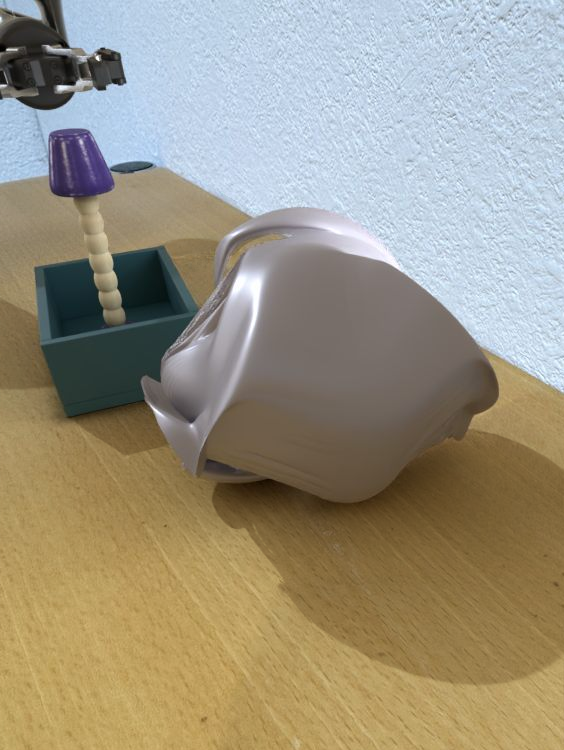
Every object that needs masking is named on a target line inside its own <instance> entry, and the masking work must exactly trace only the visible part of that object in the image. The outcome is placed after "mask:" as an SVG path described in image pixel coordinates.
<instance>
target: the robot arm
mask: <svg viewBox="0 0 564 750" xmlns="http://www.w3.org/2000/svg"><path fill="white" fill-rule="evenodd" d="M33 1H34V2H35V4H36V6H37V7H38V9H39V12H40V17H41V18H40V19H39V18H35V17H32V16H29V15H27V14H24V13H20V12H18V11H14V10H13V11H12V10H11V9H7V8H5V7H1V6H0V101H2V100H4V99H14V100H16V101H18V102H19V103H21V104H22V105H25V106H27V107H28V108H31V109H34V110H39V111H53V110H57V109H60V108H61V107H64V106H65V105H67V103H69V101H71V99H72V98H73V97H74V95H75V93H76V92H77V93H84V92H89V91H92V90H93V89H95V90H97V92H102V91H107V87H108V86H109V85H112V84H113V85H117V86H118V87H121V86H124V85H126V84H127V83H128V81H127V78H126V74H125V70H124V65H123V61H122V59H123V58H122V54H121V52H119V51H116V50H114V49H110V48H106V47H105V46H104V47H103V46H102V47H99V48H98V49H96V50H94V51H93V53H91V54H90V53H89V54H88V53H86V51H85V50H84V49H83V48H82V47H71V45H70V40H69V36H68V31H67V26H66V25H67V24H66V20H65V15H64V8H63V0H33Z"/></svg>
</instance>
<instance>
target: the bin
mask: <svg viewBox="0 0 564 750" xmlns="http://www.w3.org/2000/svg"><path fill="white" fill-rule="evenodd" d="M110 254H111V256H112V259H113V269H112V270H113V271H114V273H115V274H116V277H117V281H118V285H117V289H118V291H119V293H120V295H121V299H122V304H121V307H122V308H123V310H124V312H125V316H126V320H125V321H130V322H132V323H133V324H128V325H123V326H118V327H113V328H108V329H102V330H100V329H101V328H102V327H103V326H104V325H106V322H105V320H104V316H103V310H104V308H103V307H102V305H101V303H100V301H99V290H98V288H97V287H96V285H95V281H94V273H95V272H94V271H93V269H92V268H91V265H90V262H89V257H87V258H80V259H74V260H68V261H61V262H55V263H49V264H43V265H38V266H34V267H33V271H34V273H33V274H34V284H35V295H36V296H35V297H36V308H37V318H38V320H37V321H38V330H39V343H40V344H39V345H40V349H41V351H42V354H43V356H44V359H45V362H46V365H47V368H48V370H49V373H50V376H51V379H52V381H53V384H54V386H55V389H56V393H57V394H58V397H59V400H60V403H61V406H62V409H63V411H64V414H65V416H66V418H70V417H75V416H79V415H83V414H88V413H93V412H97V411H102V410H106V409H110V408H114V407H120V406H124V405H128V404H133V403H137V402H142V401H145V399H144V397H145V395H144V392H143V389H142V385H141V380H142V378H143V376H146V375H147V376H148V377H149V378H151V379H154V380H156V381H158V382H159V383H161V374H160V371H161V364H162V363H161V360H162V358H163V356H164V355H165V353H166V352H167V350H168V349H169V348H170V347H171V346H173V344H174V343H175V342H176V340H177V339H178V337H180V336H181V334H182V333H183V332H184V330H185V329H186V328H187V326H188V325H189V324H190V322H191V321H192V320H193V318H194V317H195V316H196V314H197V313H198V312H199V310H200V308H199V306H198V305H197V303H196V301H195V299H194V297H193V296H192V294H191V292H190V290H189V288H188V286H187V285H186V283H185V281H184V279H183V277H182V276H181V274H180V272H179V269H178V268H177V267H176V265H175V263H174V261H173V259H172V257H171V256H170V254H169V251H168V250H167V248H166V246H165V245H159V246H152V247H148V248H141V249H134V250H128V251H122V252H116V253H110ZM145 398H146V397H145Z"/></svg>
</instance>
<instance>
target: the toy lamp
mask: <svg viewBox="0 0 564 750" xmlns="http://www.w3.org/2000/svg"><path fill="white" fill-rule="evenodd" d="M47 140H48V143H47V144H48V146H47V148H48V149H47V150H48V151H47V152H48V181H49V190H50V192H51V193H52V195H55V196H57V197H61V198H73V200H72V201H73V205H74V206H75V209H76V210H77V211H78V223H79V226H80V228H81V230H82V231H83V233H84V235H83V241H84V245H85V246H84V247H85V248H86V250H87V251H88V252H89V254H88V258H89V262H90V265H91V268H92V269H93V271H94V272H95V273H94V281H95V285H96V287H97V288H98V290H99V301H100V303H101V305H102V307H103V308H104V310H103V316H104V320H105V322H106V325H104V326H103V327H102V328H101V329H100V330H102V329H108V328H113V327H118V326H123V325H128V324H133V323H132V322H130V321H125V320H126V316H125V312H124V310H123V308H122V307H121V304H122V299H121V295H120V293H119V291H118V289H117V285H118V281H117V277H116V274H115V273H114V271H113V270H112V269H113V259H112V256H111V254H112V253H110V251H109V239H108V237H107V235H106V233H105V231H104V228H105V222H104V219H103V216H102V213H101V212H99V208H100V201H99V197H98V196H99V195H103V194H108V193H109V192H111V191H113V190H114V189H115V184H116V183H115V180H114V177H113V174H112V173H111V170H110V168H109V166H108V164H107V162H106V160H105V158H104V156H103V155H104V154H103V153H102V151H101V149H100V147H99V145H98V143H97V141H96V139H95V137H94V135H93V133H92V132H91V131H90V130H89V129H86V128H82V127H81V128H72V127H71V128H62V129H56V130H53V131H51V132H49V135H48V139H47Z"/></svg>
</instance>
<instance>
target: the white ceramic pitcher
mask: <svg viewBox="0 0 564 750" xmlns="http://www.w3.org/2000/svg"><path fill="white" fill-rule="evenodd" d="M270 235H291V236H289V237H284V238H279V239H274V240H270V241H265V242H261V243H259V244H257V245H256V244H255V245H253V246H252V247H250V248H246V249H245V251H244V252H242V253H240V255H239V257H238V258H237V260H236V262H235V263H234V264H233V265H232V267H230V270H229V271H228V272H227V273H226V274H225V272H226V269H227V267H228V262H229V260H230V257H231V256H232V255H233V254H235V253H236V252H237V251H239V250H240V249H242V248H243V247H245V246H246V245H248V244H249V243H251V242H253V241H256V240H258V239H261V238H263V237H267V236H270ZM213 283H214V288H215V290H213V291H212V294H211V295H210V296H209V297H208V298H207V300H206V301H205V302H204V304H203V305H202V307H200V308H199V312H198V313H197V314H196V316H195V317H194V318H193V320H192V321H191V322H190V324H189V325H188V326H187V328H186V329H185V330H184V332H183V333H182V334H181V336H180V337H178V339H177V340H176V342H175V343H174V344H173V346H171V347H170V348H169V349H168V350H167V352H166V353H165V355H164V356H163V358H162V360H161V363H162V364H161V371H160V374H161V383H159V382H158V381H156V380H154V379H151V378H149V377H148V376H147V375H146V376H143V378H142V380H141V385H142V389H143V392H144V395H145V397H146V398H145V397H144V399H145V400H144V401H145V403H146V404H147V405H148V407H149V408H150V409H151V410H152V412H153V414H154V416H155V419H156V422H157V425H158V427H159V429H160V431H161V432H162V434H163V436H164V438H165V440H166V442H167V444H168V445H169V446H170V447H171V449H172V450H173V452H174V454H175V455H176V457H178V458H179V460H180V461H181V463H182V471H183V472H185V473H187V474H188V475H191V476H193V477H194V478H196V479H201V480H205V481H210V482H214V483H222V484H244V483H245V484H247V483H254V482H259V481H263V480H268V479H270V480H272V481H276V482H279V483H282V484H285V485H287V486H290V487H292V488H296V489H298V490H300V491H304V492H307V493H309V494H311V495H314V496H316V497H318V498H320V499H321V500H325V501H327V502H328V501H329V502H331V503H332V502H333V503H340V504H354V503H355V504H356V503H360V502H364V501H367V500H369V499H371V498H373V497H375V496H376V495H378V494H380V493H381V492H383V491H384V490H385V489H386V488H387V487H389V486H390V485H391V484H392V483H393V482H394V481H395V479H396V478H397V477H398V476H399V475H400V473H401V472H402V470H404V469H405V467H407V466H408V465H409V464H410V463H412V462H413V461H414V460H415V459H417V458H418V457H419V456H421V455H422V454H423V453H424V452H426V451H427V450H428V449H430V448H432V447H434V446H437V445H438V446H439V445H440V444H442V443H443V442H445V440H447V439H454V440H455V441H457V442H461V441H463V439H465V437H466V435H467V434H468V431H469V427H470V425H471V423H472V421H473V418H474V417H475V416H476V415H479V414H482V413H484V412H486V411H488V410H490V409H491V408H492V407H494V405H496V403H497V402H498V400H499V396H500V385H499V380H498V377H497V374H496V372H495V370H494V368H493V365H492V363H491V362H490V360H489V359H488V356H487V355H486V354H485V351H483V350H482V348H481V346H480V345H479V343H478V342H477V341H476V340H475V338H473V336H472V335H471V334H470V332H469V331H468V330H467V329H466V328H465V326H464V325H463V324H462V323H461V322H460V321H459V320H458V318H456V316H455V315H454V314H453V313H452V312H451V311H450V310H449V309H448V308H447V307H446V306H445V305H443V303H442V302H440V301H439V300H438V299H437V298H436V297H435V296H433V295H432V293H430V292H429V291H427V289H425V288H424V287H423V286H422V285H420V284H419V283H418V282H416V281H415V280H414V279H412V278H411V277H410V276H408V275H407V274H405V272H403V269H402V268H401V266H400V264H399V263H398V261H397V260H396V258H395V256H394V255H393V254H392V253H391V251H390V250H389V249H388V247H387V246H386V245H385V244H384V243H383V242H382V241H381V240H380V239H379V238H378V237H377V236H375V235H374V233H372V232H371V231H369V230H368V229H367V228H365V227H364V226H363V225H361V224H359V223H357V222H356V221H354V220H352V219H351V218H349V217H347V216H346V217H345V215H341V214H339V213H337V212H335V211H331V210H328V209H323V208H318V207H309V206H295V207H294V206H293V207H285V208H280V209H279V208H278V209H275V210H272V211H268V212H265V213H262V214H260V215H258V216H255V217H253V218H250V219H249V220H246V221H245V222H243V223H241V224H239V225H238V226H236V227H235V228H233V229H232V230H231V231H228V233H227V234H226V235H224V236H223V237H222V239H220V241H219V243H218V245H217V246H216V249H215V253H214V259H213Z"/></svg>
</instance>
